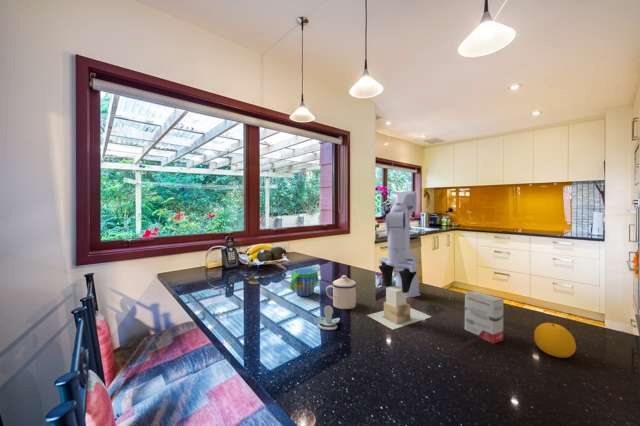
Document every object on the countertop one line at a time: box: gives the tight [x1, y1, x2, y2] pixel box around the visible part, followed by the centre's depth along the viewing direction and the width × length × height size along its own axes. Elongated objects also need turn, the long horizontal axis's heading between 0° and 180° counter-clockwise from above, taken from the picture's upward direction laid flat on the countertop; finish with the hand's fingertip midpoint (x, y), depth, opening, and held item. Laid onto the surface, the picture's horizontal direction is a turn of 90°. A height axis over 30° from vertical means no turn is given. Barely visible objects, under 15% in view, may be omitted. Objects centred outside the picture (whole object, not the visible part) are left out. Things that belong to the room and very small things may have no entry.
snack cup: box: [289, 267, 319, 297], centre depth 112 cm, size 16×10×10 cm
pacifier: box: [316, 305, 341, 331], centre depth 81 cm, size 7×6×6 cm
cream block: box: [385, 285, 407, 307], centre depth 85 cm, size 4×4×5 cm
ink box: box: [464, 290, 504, 344], centre depth 74 cm, size 8×5×12 cm, turn 26°
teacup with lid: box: [325, 275, 357, 310], centre depth 98 cm, size 12×9×12 cm
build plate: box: [366, 307, 432, 330], centre depth 87 cm, size 18×12×1 cm, turn 119°
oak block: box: [383, 301, 411, 324], centre depth 85 cm, size 6×6×5 cm
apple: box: [533, 322, 577, 359], centre depth 65 cm, size 8×8×8 cm
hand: (396, 289), depth 85 cm, fingers open, 7 cm apart
